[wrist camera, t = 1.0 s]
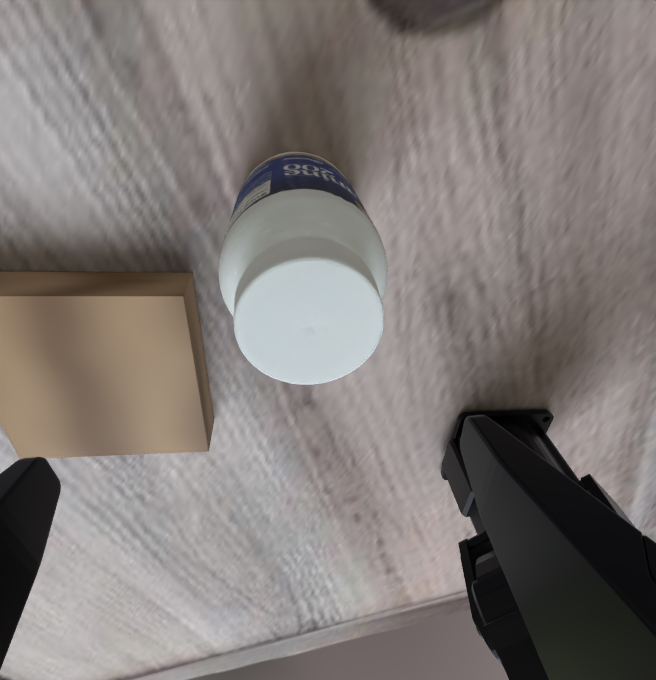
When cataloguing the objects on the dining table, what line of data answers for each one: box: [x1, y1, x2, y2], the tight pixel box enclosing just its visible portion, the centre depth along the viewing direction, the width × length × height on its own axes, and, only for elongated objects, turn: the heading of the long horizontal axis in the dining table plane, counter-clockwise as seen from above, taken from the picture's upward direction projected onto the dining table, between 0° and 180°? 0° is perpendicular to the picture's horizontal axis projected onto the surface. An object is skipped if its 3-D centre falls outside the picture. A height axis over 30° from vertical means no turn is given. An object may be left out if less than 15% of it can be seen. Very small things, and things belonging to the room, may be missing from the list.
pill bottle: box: [219, 152, 388, 385], centre depth 15 cm, size 5×5×10 cm
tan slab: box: [0, 271, 214, 459], centre depth 21 cm, size 10×10×2 cm
